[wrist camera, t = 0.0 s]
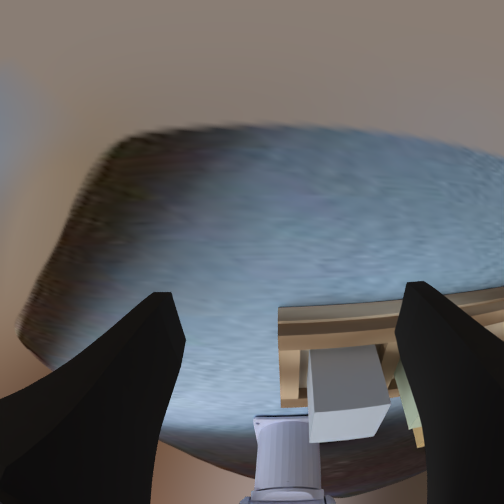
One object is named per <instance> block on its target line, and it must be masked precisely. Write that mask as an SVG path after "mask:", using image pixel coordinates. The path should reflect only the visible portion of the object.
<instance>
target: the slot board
mask: <svg viewBox="0 0 504 504" xmlns="http://www.w3.org/2000/svg"><path fill="white" fill-rule="evenodd" d="M444 296H445V297H447V298H448V299H449V300H451V301H452V302H453V303H454V304H456V305H457V306H458V307H459V308H461V309H462V310H463V311H464V312H466V313H467V314H468V315H469V316H471V317H472V318H473V319H475V320H476V321H477V322H478V323H480V324H481V325H482V326H484V327H485V328H486V329H488V330H489V331H490V332H492V333H493V334H494V335H496V336H497V337H498V338H500V339H501V340H503V341H504V287H498V288H491V289H485V290H478V291H471V292H464V293H456V294H448V295H444ZM402 301H403V300H392V301H381V302H369V303H356V304H341V305H325V306H305V307H281V308H278V349H279V371H280V395H281V408H293V407H308V397H307V372H308V357H309V350H311V349H327V348H341V347H353V346H363V345H373V344H375V347H376V350H377V354H378V357H379V360H380V364H381V367H382V371H383V375H384V378H385V382H386V386H387V389H388V393H389V397H390V398H393V397H399V396H400V394H399V390H398V387H397V383H396V380H395V377H394V372H395V370H396V367H397V364H398V362H399V359H400V355H399V351H398V347H397V342H396V337H395V333H394V331H395V327H396V324H397V320H398V316H399V313H400V309H401V305H402Z"/></svg>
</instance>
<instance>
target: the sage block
mask: <svg viewBox="0 0 504 504" xmlns="http://www.w3.org/2000/svg"><path fill="white" fill-rule="evenodd" d="M394 377H395V380H396V383H397V387H398V390H399V394H400V397H401V401H402V405H403V408H404V412H405V416H406V420H407V424H408V428H409V429H413V428H417V427H422V425H421V421H420V417H419V413H418V410H417V407H416V404H415V401H414V397H413V394H412V391H411V388H410V385H409V383H408V380H407V377H406V374H405V371H404V368H403V365H402V362H401V359H399V362H398V364H397V367H396V370H395V372H394Z"/></svg>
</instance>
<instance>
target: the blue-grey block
mask: <svg viewBox="0 0 504 504" xmlns="http://www.w3.org/2000/svg"><path fill="white" fill-rule="evenodd" d="M307 397H308V418H309V443H319V442H331V441H341V440H350V439H358V438H365V437H372V436H374V435H375V433H376V432H377V430H378V428H379V426H380V424H381V422H382V421H383V419H384V417H385V415H386V413H387V411H388V409H389V407H390V405H391V401H390V397H389V393H388V389H387V386H386V382H385V378H384V375H383V371H382V367H381V364H380V360H379V357H378V354H377V350H376V347H375V344H373V345H363V346H353V347H341V348H327V349H311V350H309V357H308V372H307Z"/></svg>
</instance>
